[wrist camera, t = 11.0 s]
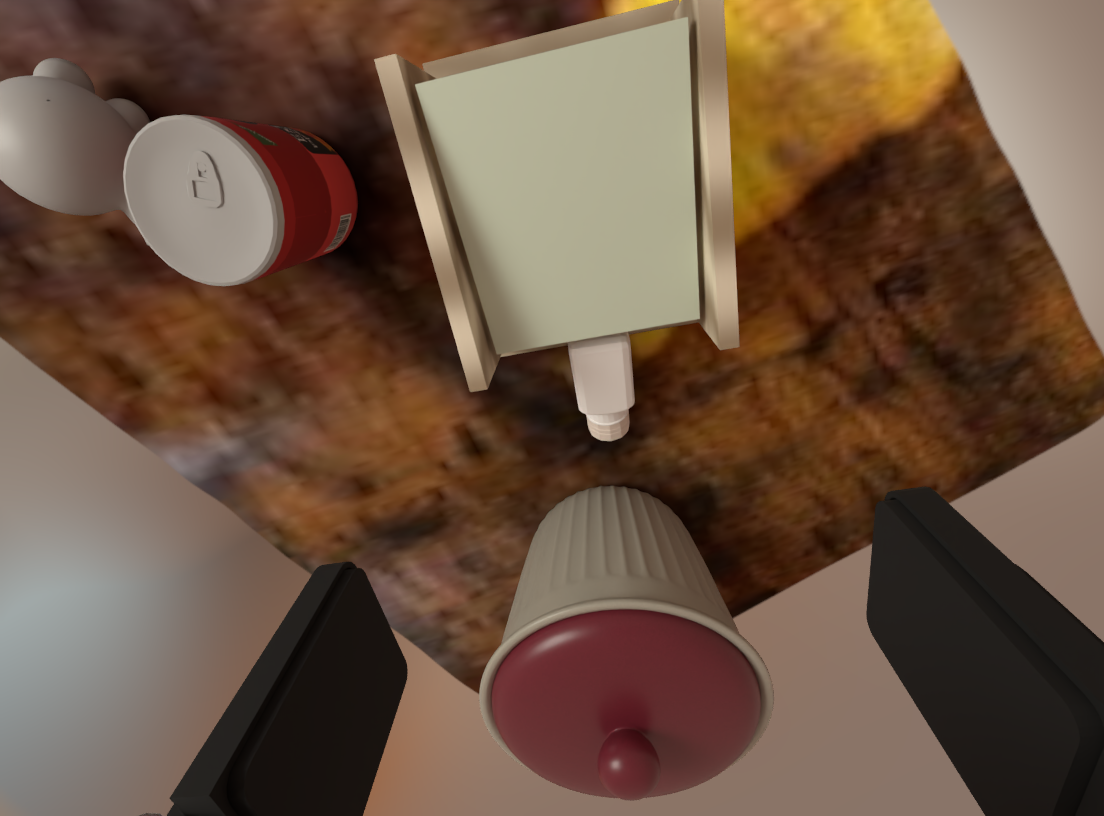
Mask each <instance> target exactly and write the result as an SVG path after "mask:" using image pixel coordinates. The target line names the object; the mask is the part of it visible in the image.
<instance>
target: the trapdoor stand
mask: <svg viewBox="0 0 1104 816" xmlns="http://www.w3.org/2000/svg"><path fill="white" fill-rule="evenodd" d="M684 17H688V30H689V55H690V81H691V106H692V132H693V157H694V183H695V209H696V234H697V260H698V285H699V311H700V319H696V320H690V321H685V322H679V323H673V324H667V325H662V326H656V327H650V328H645V329H639V330H633V331H628V334H635V333H640V332H646V331H652V330H657V329H663V328H669V327H675V326H680V325H686V324H692V323H697V322H699V323H700V325H701V326H702V327H703V329H704V330H705V331H706V332H707V334H708V335H709V336H710V338H711V339H712V340H713V342H714V343H715V344H716V345H717V347H718V348H719V349H720V350H724V349H730V348H736V347H739V325H738V303H737V281H736V259H735V237H734V215H733V193H732V171H731V150H730V128H729V106H728V84H727V62H726V40H725V18H724V0H682V1H681V2H680V4H679V0H673V1H669V2H665V3H661V4H657V5H653V6H649V7H645V8H641V9H637V10H633V11H629V12H625V13H622V14H618V15H614V16H610V17H606V18H602V19H598V20H594V21H590V22H586V23H582V24H578V25H574V26H570V27H566V28H562V29H558V30H554V31H550V32H546V33H542V34H538V35H535V36H531V37H527V38H523V39H519V40H515V41H511V42H507V43H503V44H499V45H495V46H491V47H487V48H483V49H479V50H475V51H471V52H467V53H463V54H459V55H455V56H451V57H447V58H444V59H440V60H436V61H432V62H428V63H424V64H423V68H424V71H423V70H422V69H420V68H418V67H417V66H415V65H413V64H412V63H410V62H408V61H407V60H405V59H403V58H402V57H400V56H399V55H397V54H393V55H389V56H385V57H382V58H378V59H374V61H375V64H376V68H377V71H378V75H379V78H380V82H381V85H382V88H383V92H384V95H385V99H386V102H387V106H388V109H389V113H390V116H391V120H392V123H393V126H394V130H395V133H396V137H397V140H398V144H399V147H400V151H401V154H402V158H403V161H404V165H405V168H406V171H407V175H408V178H409V182H410V185H411V189H412V192H413V196H414V199H415V203H416V206H417V210H418V213H419V216H420V220H421V223H422V227H423V230H424V234H425V237H426V241H427V244H428V248H429V251H430V255H431V258H432V261H433V265H434V268H435V272H436V275H437V279H438V282H439V286H440V289H441V293H442V296H443V299H444V303H445V306H446V310H447V313H448V317H449V320H450V324H451V327H452V331H453V334H454V338H455V341H456V344H457V348H458V351H459V355H460V358H461V362H462V365H463V369H464V372H465V376H466V379H467V383H468V386H469V389H470V392H474V391H480V390H486V389H488V386H489V384H490V381H491V379H492V376H493V374H494V371H495V369H496V366H497V364H498V361H499V359H500V357H503V356H509V355H515V354H520V353H526V352H532V351H537V350H543V349H549V348H555V347H560V346H566V345H568V342H565V343H559V344H554V345H548V346H542V347H537V348H531V349H525V350H520V351H514V352H508V353H503V354H497V353H496V350H495V347H494V343H493V340H492V337H491V334H490V330H489V327H488V324H487V320H486V317H485V314H484V311H483V307H482V304H481V301H480V297H479V294H478V291H477V287H476V284H475V281H474V278H473V274H472V271H471V268H470V264H469V261H468V258H467V255H466V251H465V248H464V245H463V241H462V238H461V235H460V232H459V228H458V225H457V222H456V218H455V215H454V212H453V209H452V205H451V202H450V199H449V195H448V192H447V189H446V185H445V182H444V179H443V176H442V172H441V169H440V166H439V162H438V159H437V156H436V153H435V149H434V146H433V143H432V139H431V136H430V133H429V130H428V126H427V123H426V120H425V116H424V113H423V110H422V106H421V103H420V100H419V97H418V93H417V90H416V87H415V84H418V83H422V82H426V81H430V80H434V79H438V78H442V77H445V76H450V75H454V74H458V73H462V72H466V71H470V70H474V69H478V68H482V67H486V66H490V65H494V64H498V63H502V62H506V61H510V60H514V59H518V58H522V57H526V56H530V55H534V54H538V53H542V52H546V51H550V50H554V49H558V48H562V47H566V46H570V45H574V44H578V43H582V42H587V41H591V40H595V39H599V38H603V37H607V36H611V35H615V34H619V33H623V32H627V31H631V30H635V29H639V28H643V27H647V26H651V25H655V24H660V23H664V22H668V21H672V20H676V19H680V18H684Z"/></svg>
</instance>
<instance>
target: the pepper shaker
mask: <svg viewBox="0 0 1104 816" xmlns="http://www.w3.org/2000/svg"><path fill="white" fill-rule="evenodd" d="M568 351H569V357H570V362H571V368H572V374H573V379H574V385H575V390H576V396H577V401H578V407H579V410H580V411H581V412H582V413H585V414H586V416H587V422H588V428H589V430H590V432H591V434H592V436H594V437H595V438H597V439H599V440H602V441H613V440H616V439H619V438H622V437H623V436H624V435H625V434H626V433H627V432H628V429H629V424H630V421H629V410H628V409H629V408H630V407H632V406H633V404H634V402H635V398H634V385H633V371H632V358H631V344H630V338H629V334H628V332H622V333H616V334H611V335H605V336H599V337H594V338H588V339H582V340H576V341H571V342H568Z"/></svg>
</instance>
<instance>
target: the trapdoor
mask: <svg viewBox="0 0 1104 816" xmlns="http://www.w3.org/2000/svg"><path fill="white" fill-rule="evenodd" d="M415 87H416V90H417V93H418V97H419V100H420V103H421V106H422V110H423V113H424V116H425V120H426V123H427V126H428V130H429V133H430V136H431V139H432V143H433V146H434V149H435V153H436V156H437V159H438V162H439V166H440V169H441V172H442V176H443V179H444V182H445V185H446V189H447V192H448V195H449V199H450V202H451V205H452V209H453V212H454V215H455V218H456V222H457V225H458V228H459V232H460V235H461V238H462V241H463V245H464V248H465V251H466V255H467V258H468V261H469V264H470V268H471V271H472V274H473V278H474V281H475V284H476V287H477V291H478V294H479V297H480V301H481V304H482V307H483V311H484V314H485V317H486V320H487V324H488V327H489V330H490V334H491V337H492V340H493V343H494V347H495V350H496V353H497V354H503V353H508V352H514V351H520V350H525V349H531V348H537V347H542V346H548V345H554V344H559V343H565V342H571V341H576V340H582V339H588V338H594V337H599V336H605V335H611V334H616V333H622V332H628V331H633V330H639V329H645V328H650V327H656V326H662V325H667V324H673V323H679V322H685V321H690V320H696V319H700V311H699V285H698V260H697V234H696V209H695V183H694V157H693V132H692V106H691V81H690V55H689V30H688V17H684V18H680V19H676V20H672V21H668V22H664V23H660V24H655V25H651V26H647V27H643V28H639V29H635V30H631V31H627V32H623V33H619V34H615V35H611V36H607V37H603V38H599V39H595V40H591V41H587V42H582V43H578V44H574V45H570V46H566V47H562V48H558V49H554V50H550V51H546V52H542V53H538V54H534V55H530V56H526V57H522V58H518V59H514V60H510V61H506V62H502V63H498V64H494V65H490V66H486V67H482V68H478V69H474V70H470V71H466V72H462V73H458V74H454V75H450V76H445V77H442V78H438V79H434V80H430V81H426V82H422V83H418V84H415Z"/></svg>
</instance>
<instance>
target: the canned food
mask: <svg viewBox="0 0 1104 816" xmlns="http://www.w3.org/2000/svg"><path fill="white" fill-rule="evenodd" d="M123 180H124V192H125V196H126V199H127V203H128V207H129V210H130V212H131V215H132V217H133V219H134V222H135V224H136V226H137V228H138V229H139V231H140V233H141V234H142V236H143V238H144V239H145V240H146V242H147V243H148V244H149V245H150V247H151V248H152V249H153V250H154V252H155V253H156V254H157V255H158V256H159V257H160V258H162V259H163V260H164V261H165V262H166V263H167V264H168V265H169V266H171V267H172V268H174V269H175V270H177V271H178V272H179V273H181V274H183V275H185V276H187V277H189V278H191V279H193V280H195V281H198V282H201V283H205V284H208V285H216V286H229V285H237V284H244V283H247V282H249V281H252V280H256V279H259V278H262V277H264V276H267V275H270V274H273V273H275V272H278V271H281V270H283V269H286V268H289V267H292V266H294V265H297V264H300V263H302V262H305V261H308V260H311V259H313V258H316V257H319V256H321V255H324V254H327V253H329V252H332V251H333V250H335V249H336V248H338V247H339V246H341V244H342V243H343V242H344V241H345V240H346V239H347V237H348V236H349V234H350V232H351V230H352V228H353V226H354V223H355V220H356V217H357V209H358V199H357V191H356V187H355V183H354V180H353V178H352V175H351V173H350V171H349V169H348V167H347V166H346V164H345V162H344V161H343V159H342V158H341V157H340V156H339V155H338V154H337V153H336V151H335V150H334V149H333V148H332V147H331V146H329V145H328V144H327V143H326V142H324V141H323V140H322V139H321V138H319V137H317V136H315V135H313V134H312V133H310V132H306V131H303V130H300V129H295V128H288V127H281V126H274V125H266V124H259V123H252V122H245V121H237V120H230V119H223V118H216V117H205V116H194V115H174V116H167V117H161V118H159V119H157V120H155V121H153V122H150V123H148V124H147V125H146V126H145V127H144V128H142V129H141V130H140V131H139V132H138V133H137V134H136V136H135V137H134V139H133V141H132V142H131V144H130V145H129V148H128V151H127V154H126V157H125V162H124V171H123Z"/></svg>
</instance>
